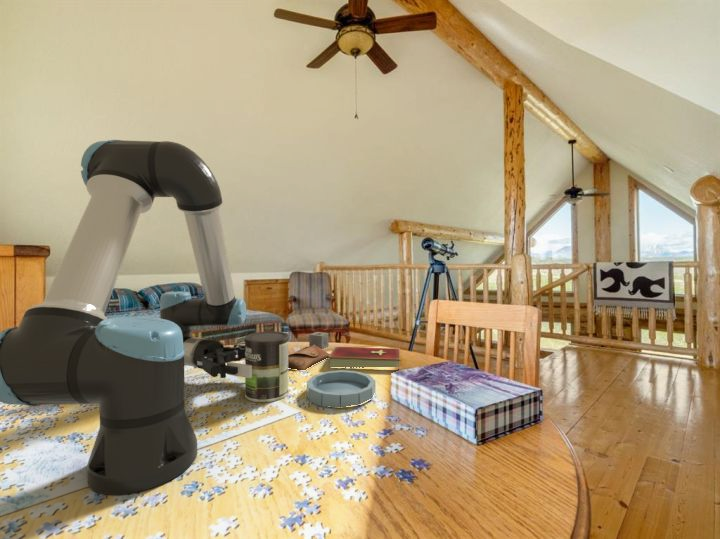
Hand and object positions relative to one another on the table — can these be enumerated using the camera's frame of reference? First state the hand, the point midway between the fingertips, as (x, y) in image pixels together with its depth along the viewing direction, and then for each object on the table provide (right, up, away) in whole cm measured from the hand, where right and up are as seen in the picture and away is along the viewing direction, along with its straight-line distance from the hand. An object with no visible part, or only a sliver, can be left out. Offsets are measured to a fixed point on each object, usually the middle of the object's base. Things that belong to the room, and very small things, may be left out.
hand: (269, 363), depth 87 cm
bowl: (+17, -7, 0) cm, 19 cm away
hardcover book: (+23, -7, +24) cm, 34 cm away
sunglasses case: (+6, -7, +25) cm, 27 cm away
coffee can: (-1, -8, 0) cm, 8 cm away
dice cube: (+7, -6, +42) cm, 43 cm away
